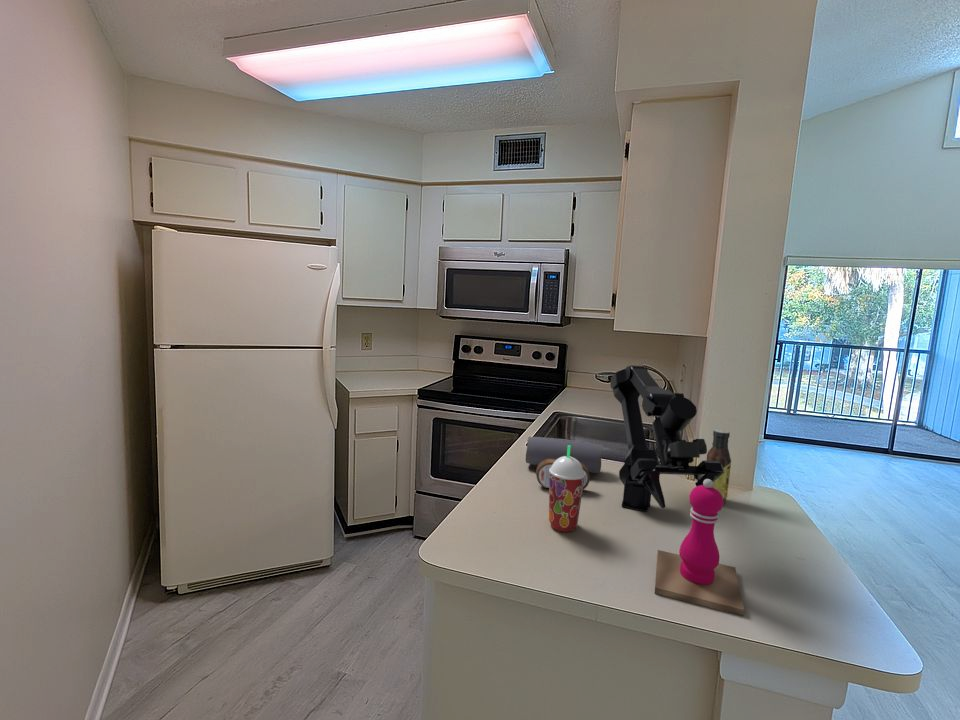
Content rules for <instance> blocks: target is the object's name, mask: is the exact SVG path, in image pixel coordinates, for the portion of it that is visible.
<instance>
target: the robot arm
mask: <svg viewBox="0 0 960 720" xmlns="http://www.w3.org/2000/svg"><path fill="white" fill-rule="evenodd" d="M610 388H611V389H612V392H613V397H614V398H615V399H616V400H617V401H618V402H619V403H620V405H621V410H622V416H623V418H622V419H623V422H624V430H625V434H626V441H627V447H628V452H627V454H626V456H625V459H624V462H623V463H624V464H623V465H622V466H621V468H620V469H619V471H618V478H619V480H620V482H621V483H622V484H623V494H622V502H621V507H622V508H627V509H632V510H635V511H641V512H648V508H650V507H651V500H652V497H653V499H654V500H655V501H656V502H657V504H658V505H659V507H660V508H661V509H665V508H666V501H665V497H664V494H663V493H664V491H663V490H662V489H663V488H662V486H661V482H660V475H679V476H680V475H681V476H682V475H683V476H684V475H686V476H694V479H695V480H696V482H695V487H697V486H700V485H703V481H704V480H705V479H710V480H712V482H714V481H715V480H716V479H717V478H718V477H720V476H721V475H722V474H723V473H724V469H723V466H722V464H721V463H720V462H718V461H706V460H702V461H700V462H699V464H697V465H690V464H691V463H693V462H694V461H695V460H694V459H695V458H698V459H699V458H700V457H701V456H700V455H707V453H708V448H707V443H706V440H705V439H704V438H695V439H693V440H692V441H686V439H683V437H682V433H681V432H682V431H683V430H685V429H686V428H687V427H688V426H689V424H690V423H691V421H692V420H693V419H694V418H695V416H696V415H697V411H698V410H697V406H696V405H695V404H694V403H693V401H692V400H690V399H689V398H686V397H685V396H684V393H681V392H680V393H679V392H677V393H676V392H674V393H673V392H672V391H670V390H669V389H665V388H662V386H661V387H660V385H659V384H658V383H657V382H656V380H655V379H654V377H652V375H651V374H650V373H649V371H648V368H647V367H646V366H644V365H628V366H626V367H625V368H624V369H621V370H618V371H616V372H615V373H614V374H613V375H612V376H611V378H610ZM640 396H641V398H642V401H641V402H642V404H641V406H640V401H639V397H640ZM640 407H642V411H644V413H645V415H646V416H647V417H654V418H655V417H656V418H655V419H654V420H653V422H652V424H651V427H650V429H649V430H650V432H651V433H653V436H654V440H655V444H656V449H650V448H649V447H648V444H647V440H646V434H645V429H644V423H643V418H642V414H641V409H640ZM657 455H658V458H659V462H660V464H659V462H658V459H657Z"/></svg>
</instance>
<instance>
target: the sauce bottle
mask: <svg viewBox="0 0 960 720" xmlns="http://www.w3.org/2000/svg"><path fill="white" fill-rule="evenodd" d="M712 431H713V432H712V436H713V438H712V444H711V445H712V446H711V448H709V450H707V453H706V460H705V461H718V462H720V463H721V464H722V466H723V469H724V473H723V474H722V475H721V476H720V477H718V478H717V479H716V480H715V481H714V482H713V486H712V487H713V488H715V489H717V490H718V491H719V492H720V493H721V495H722V497H723V505H724V504H725V503H726V502H727V498H728V492H729V485H730V484H729V483H730V475H731V466H732V458H731V454H730V450H729V438H730V436H731V435H730V431H728V430H724V429H718V428H717V429H713V430H712Z"/></svg>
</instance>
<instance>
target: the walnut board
mask: <svg viewBox="0 0 960 720" xmlns="http://www.w3.org/2000/svg"><path fill="white" fill-rule="evenodd" d="M656 556H657V557H656V568H655V569H656V570H655V580H654V581H655V584H654V595H660V596H664V597H668V598H671V599H675V600H679V601H683V602H686V603H690V604H695V605H698V606H703V607H706V608H711V609H713V610H718V611H722V612H727V613H730V614H734V615H738V616H742V617H744V616H745V615H744V614H745V607H744V603H743V596H742V593H741V588H740V583H739V579H738V574H737V569H736V567H735V566H731V565H726V564H723V563H722V564H721V563H719V564H718V566H717V567H716V568H714V571H715V576H714V581H713V583H711V584H707V585H702V584H696V583H693V582H691V581H689V580H687V579H685V578H684V577H683V576H682V575H681V574H680V564H681V562H682V561H683V560H682V559H681V557H680V554H677V553H673V552H668V551H664V550H661V549H658V550H657V555H656Z"/></svg>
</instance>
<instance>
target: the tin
mask: <svg viewBox="0 0 960 720" xmlns="http://www.w3.org/2000/svg"><path fill="white" fill-rule="evenodd" d="M556 460H557V459H546V460H544V461H542V462H541V463H540V464H539V465H536V470H535V475H536V479H537V483H538V484H539V485H540V486H541V487H543V489H544V488H545V489H546V488H549V468H551V466H552V464H553V463H554V462H555V461H556ZM580 464H581V465H582V468H583V471H584V472H585V477H584V484H583V490H585V489H586V488H587V487H588V486H589V483H590V479H591V476H590V475H591V474H590V473H591V472H589V470H588V468H587V467H586V466H585V465H584V464H583V463H581V462H580Z"/></svg>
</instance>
